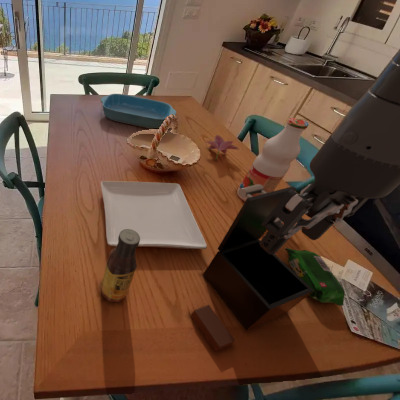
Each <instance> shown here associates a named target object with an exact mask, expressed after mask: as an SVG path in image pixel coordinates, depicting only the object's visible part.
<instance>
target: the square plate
mask: <svg viewBox="0 0 400 400" xmlns="http://www.w3.org/2000/svg"><path fill="white" fill-rule="evenodd" d="M100 190H101V194H102V201H103V207H104V217H105V235H106V243H107V245H108V246H110V247H117V245H118V237H119V234H120V232H121V231H122V230H124V229H132V230H134V231H136V232H137V233H138V234H139V236H140V242H139V245H138V246H137V248H138V247H139V248H140V247H141V248H146V247H147V248H166V249H167V248H170V249H182V250H183V249H184V250H207V249H208V245H207V242H206V240H205V238H204V235H203V233H202V231H201V229H200V227H199V225H198V222H197V220H196V218H195V216H194V214H193V211H192V210H191V209H192V208H191V207H190V205H189V203H188V201H187V198H186V196H185V193H184V191H183V189H182V187H181V185H180V184H179V183H172V182H154V181H153V182H152V181H123V180H122V181H120V180H101V181H100Z"/></svg>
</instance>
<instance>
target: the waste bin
mask: <svg viewBox="0 0 400 400" xmlns="http://www.w3.org/2000/svg"><path fill="white" fill-rule="evenodd" d="M260 241H261V239H257V240H254V241H251V242H248V243H245V244H242V245H238V246H235V247H232V248H229V249H226V250H223V251H219V250H218V251H216V254H215V255H214V257H212V260H210V263H209V264H208V266H207V267H206V269H205V271H204V272H203V274H202V276H203V278H205V280H206V281H207V282H208V284H209V285H210V286H211V287H212V289H213V290H214V291H215V292H216V294H217V295H218V296H219V298H220V299H221V300H222V301H223V302H224V304H225V305H226V306H227V307H228V309H229V310H230V312H232V314H233V315H234V316H235V318H236V319H237V320H238V321H239V323H240V324H241V326H242V327H243V328H244V329H245V330H246V331H248V330H251V329H253V328H254V327H258V326H259V325H261V324H264V323H266V322H268V321H270V320H273V319H275V318H277V317H280V316H282V315H284V314H287V313H288V312H289V311H291V310H292V309H293V308H295V307H296V306H297V305H298V304H299V303H301V302H302V301H304V300H305V299H306V298H307V297H309V294H311V293H312V292H313V291H314V290H313V289H312V288H311V287H310V286H309V285H307V284H306V283H305V282H304V281H303V280H302V279H301V278H300V277H299V276H298V275H297V274H296V273H295V272H293V270H292V268H291V267H290V266H288V265H287V264H286V263H285V262H284V261H283V260H282V259H280V258H279V256H277V254H276V253H275V254H272V255H270V254H268V253H267V252H266V251H265V250H264V249H263V248H262V247H261V246H260V245H259V242H260Z"/></svg>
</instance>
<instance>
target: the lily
mask: <svg viewBox="0 0 400 400" xmlns="http://www.w3.org/2000/svg"><path fill="white" fill-rule="evenodd" d="M204 142H205V143H207V144H209V145H210V146H209V147H208V150H217V154H216V157H215V160H217V159H218V156H219V153H220V152H221V153H223V154H224V155H226V154H227V152H228V150H240V148H239V147H238V146H236V145H234V142H235V141H234V140H225V139H224V138H223V136H221V135H219V134H215V135H214V138H213V140H205V141H204Z"/></svg>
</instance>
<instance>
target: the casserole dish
mask: <svg viewBox="0 0 400 400" xmlns="http://www.w3.org/2000/svg"><path fill="white" fill-rule="evenodd" d="M100 103H102V110H103V114H104V116H105V117H106V118H107V119H108V120H110V121H113V122H117V123H122V124H126V125H132V126H134V127H135V126H136V127H141V128H145V129H150V130H154V129H153V128H159V127H160V126H161V124H162V123H163V121H164V120H165V118H166V117H167V116H169V115H171V114H173V115H175V116H176V115H177V110H176V109H174V108H173V106H172V105H171V104H170V103H168V102H164V101H160V100H156V99H150V98H146V97H141V96H135V95H130V94H123V93H110V94H108V95H104V96H102V97H101V98H100Z"/></svg>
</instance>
